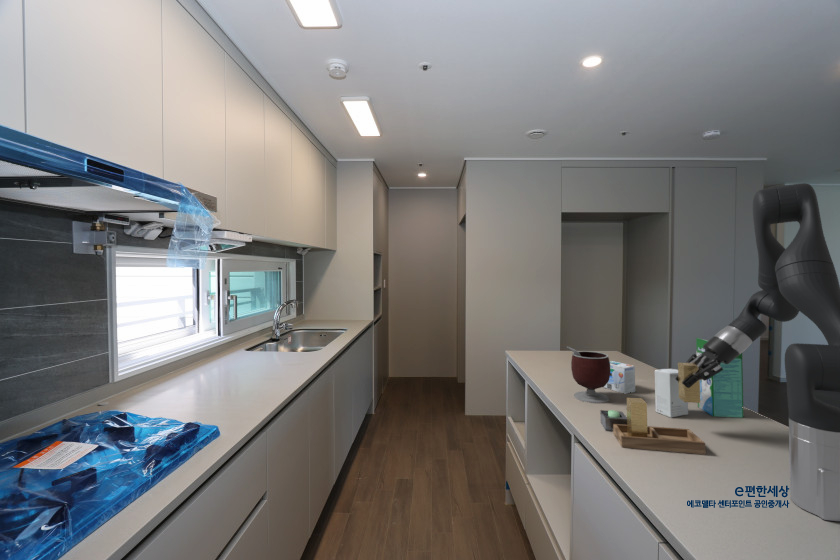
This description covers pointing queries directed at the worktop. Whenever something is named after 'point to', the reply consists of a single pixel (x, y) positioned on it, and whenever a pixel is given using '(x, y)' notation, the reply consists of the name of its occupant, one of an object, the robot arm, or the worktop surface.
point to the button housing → (612, 420)
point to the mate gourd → (590, 374)
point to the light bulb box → (621, 377)
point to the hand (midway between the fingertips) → (681, 383)
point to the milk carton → (722, 388)
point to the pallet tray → (661, 439)
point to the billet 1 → (636, 417)
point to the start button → (613, 413)
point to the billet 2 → (684, 392)
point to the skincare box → (668, 394)
